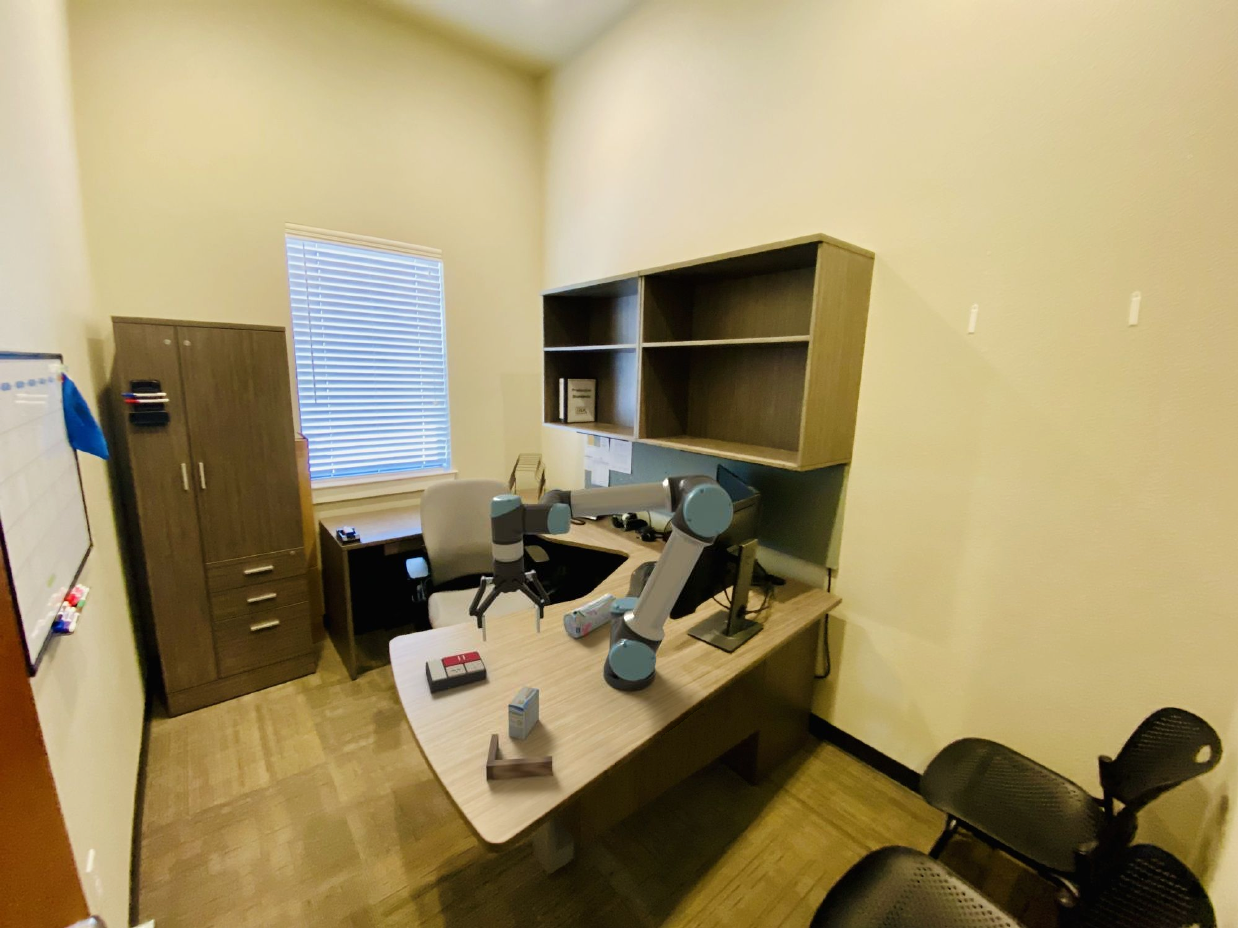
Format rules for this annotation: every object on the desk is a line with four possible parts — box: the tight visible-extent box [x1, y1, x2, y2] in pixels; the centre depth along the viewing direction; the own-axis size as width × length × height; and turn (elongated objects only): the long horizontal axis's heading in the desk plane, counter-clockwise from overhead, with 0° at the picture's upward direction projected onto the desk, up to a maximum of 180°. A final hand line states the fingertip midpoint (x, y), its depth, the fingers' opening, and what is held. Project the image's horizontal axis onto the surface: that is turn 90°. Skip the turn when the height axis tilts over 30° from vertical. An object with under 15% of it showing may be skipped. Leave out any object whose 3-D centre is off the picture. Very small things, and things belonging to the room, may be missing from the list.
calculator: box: [425, 651, 488, 694], centre depth 141 cm, size 11×4×15 cm
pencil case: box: [563, 593, 617, 639], centre depth 170 cm, size 21×9×10 cm, turn 138°
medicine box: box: [507, 685, 540, 740], centre depth 121 cm, size 8×4×9 cm, turn 163°
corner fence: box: [485, 733, 553, 781], centre depth 111 cm, size 14×10×4 cm
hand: (511, 634), depth 127 cm, fingers open, 13 cm apart
